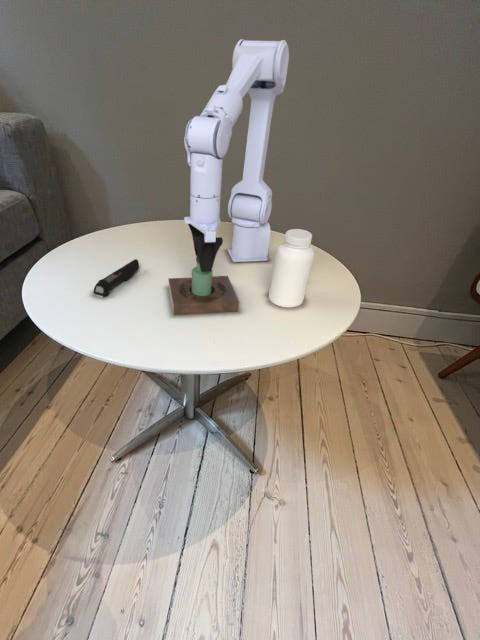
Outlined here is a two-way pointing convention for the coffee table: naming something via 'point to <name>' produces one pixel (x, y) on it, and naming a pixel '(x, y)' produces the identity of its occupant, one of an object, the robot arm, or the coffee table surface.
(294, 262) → the pill bottle
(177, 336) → the coffee table surface
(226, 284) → the brown wooden holder tray
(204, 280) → the bottle
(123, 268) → the electric trimmer
